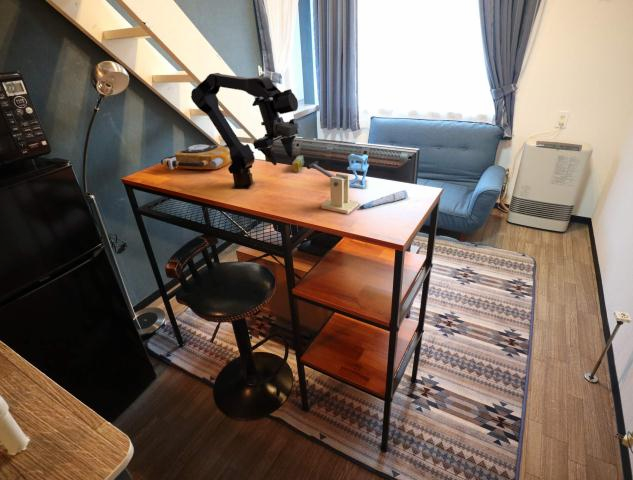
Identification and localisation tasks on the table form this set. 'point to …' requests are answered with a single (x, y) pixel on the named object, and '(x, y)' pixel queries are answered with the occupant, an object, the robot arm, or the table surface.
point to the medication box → (298, 163)
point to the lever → (322, 170)
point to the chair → (358, 168)
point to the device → (199, 157)
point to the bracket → (339, 195)
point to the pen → (386, 199)
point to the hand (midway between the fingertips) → (283, 161)
